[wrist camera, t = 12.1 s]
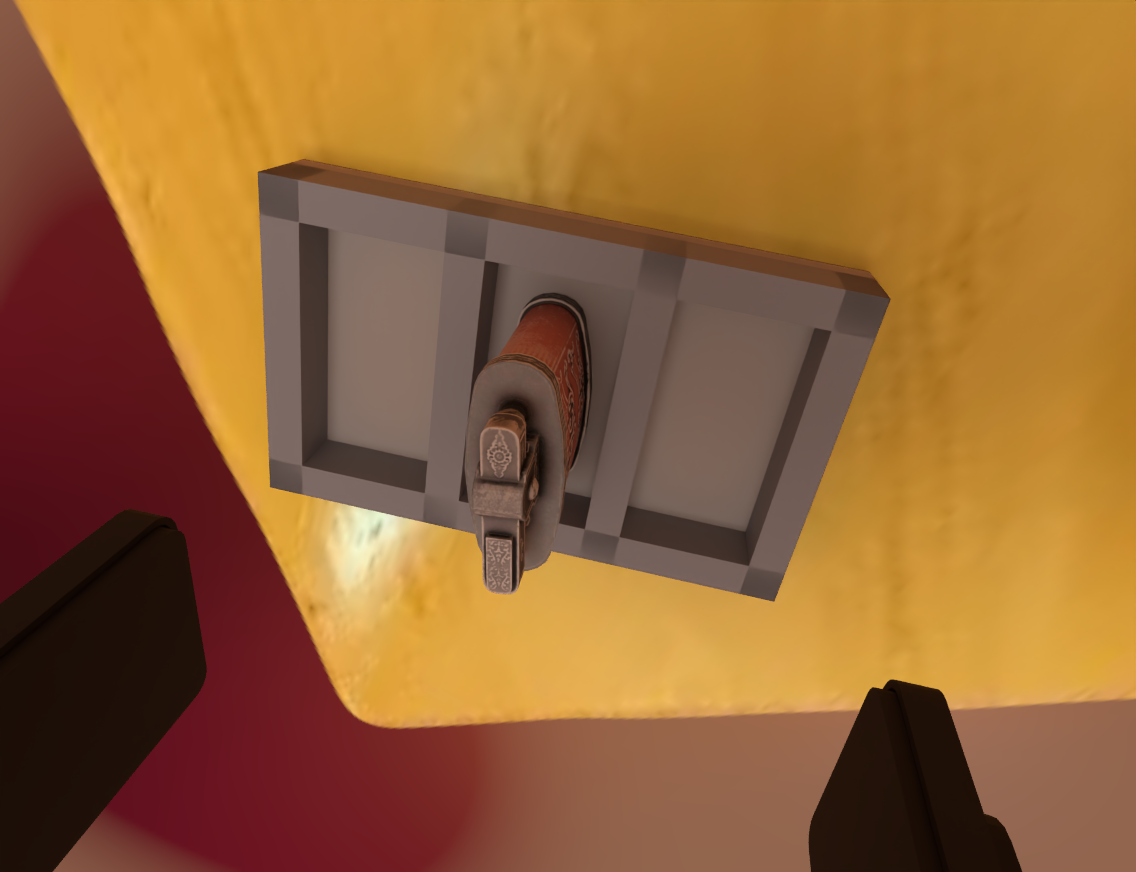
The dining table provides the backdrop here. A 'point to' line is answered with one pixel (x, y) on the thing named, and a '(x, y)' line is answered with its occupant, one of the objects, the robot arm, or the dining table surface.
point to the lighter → (527, 437)
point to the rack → (619, 366)
